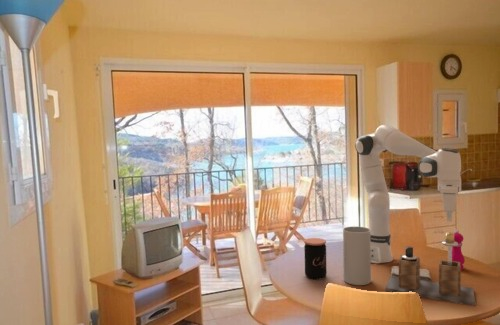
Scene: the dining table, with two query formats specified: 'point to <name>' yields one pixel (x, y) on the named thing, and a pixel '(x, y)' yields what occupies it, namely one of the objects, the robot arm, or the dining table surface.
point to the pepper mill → (458, 249)
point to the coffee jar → (315, 258)
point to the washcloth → (423, 273)
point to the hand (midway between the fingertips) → (449, 218)
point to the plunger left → (409, 254)
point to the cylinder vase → (357, 255)
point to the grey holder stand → (443, 290)
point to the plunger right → (449, 245)
